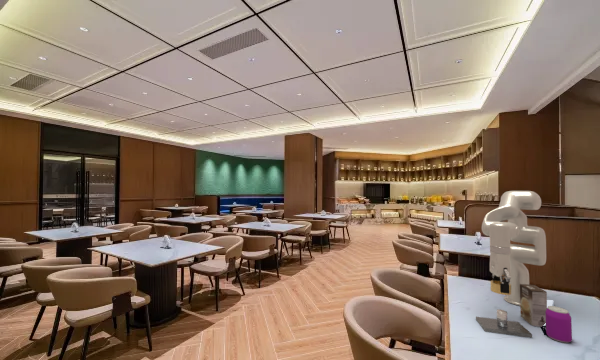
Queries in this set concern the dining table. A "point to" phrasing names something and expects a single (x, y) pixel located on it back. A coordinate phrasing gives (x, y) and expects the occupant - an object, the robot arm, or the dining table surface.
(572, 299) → the dining table surface
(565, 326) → the beverage can
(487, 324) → the stand
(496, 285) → the brass ring
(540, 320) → the coffee box
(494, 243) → the robot arm
